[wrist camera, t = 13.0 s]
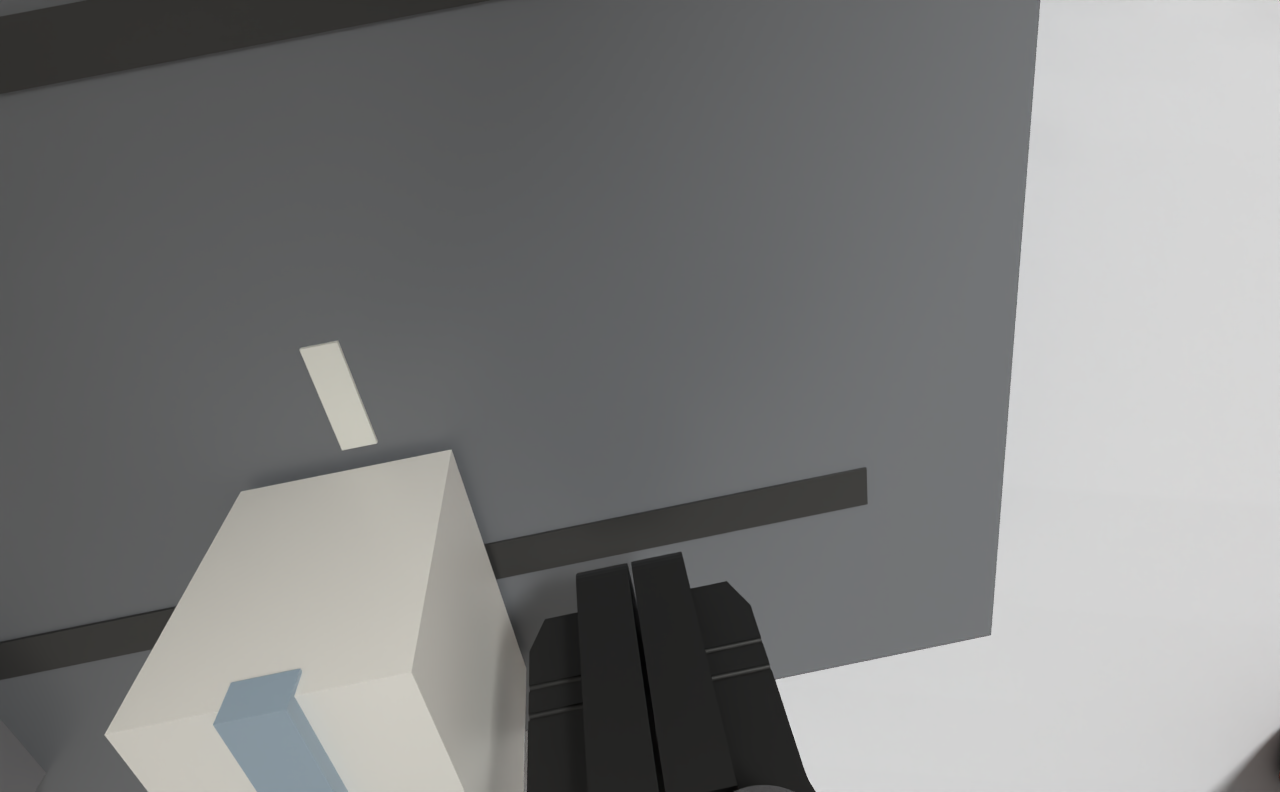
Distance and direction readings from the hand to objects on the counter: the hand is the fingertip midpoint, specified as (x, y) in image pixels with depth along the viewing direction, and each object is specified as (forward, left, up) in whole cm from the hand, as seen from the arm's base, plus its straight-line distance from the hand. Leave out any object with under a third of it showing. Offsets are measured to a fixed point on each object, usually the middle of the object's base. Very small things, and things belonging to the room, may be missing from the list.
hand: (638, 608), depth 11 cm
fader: (0, -4, -1) cm, 4 cm away
